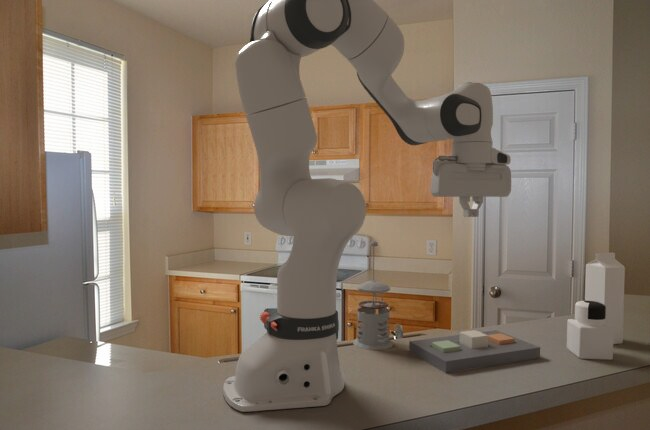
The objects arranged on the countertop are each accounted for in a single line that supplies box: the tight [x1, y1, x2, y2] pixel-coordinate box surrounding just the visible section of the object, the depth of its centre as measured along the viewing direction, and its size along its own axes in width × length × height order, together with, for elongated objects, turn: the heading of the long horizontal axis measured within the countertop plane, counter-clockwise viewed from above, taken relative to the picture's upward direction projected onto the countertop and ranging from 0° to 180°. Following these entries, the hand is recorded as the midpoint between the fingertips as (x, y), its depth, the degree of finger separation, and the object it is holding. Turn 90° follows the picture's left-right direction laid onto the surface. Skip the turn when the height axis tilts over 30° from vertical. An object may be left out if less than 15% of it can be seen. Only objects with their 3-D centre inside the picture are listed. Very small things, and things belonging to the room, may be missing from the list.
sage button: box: [432, 340, 460, 353], centre depth 104 cm, size 4×4×3 cm
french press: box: [352, 240, 394, 351], centre depth 115 cm, size 10×12×25 cm
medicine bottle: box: [566, 300, 614, 361], centre depth 107 cm, size 7×7×12 cm
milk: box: [584, 252, 626, 345], centre depth 117 cm, size 6×6×22 cm
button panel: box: [408, 330, 541, 374], centre depth 107 cm, size 25×14×2 cm, turn 111°
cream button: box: [459, 329, 488, 349], centre depth 107 cm, size 4×4×3 cm
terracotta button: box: [488, 333, 514, 345], centre depth 109 cm, size 4×4×3 cm
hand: (470, 216), depth 109 cm, fingers closed
